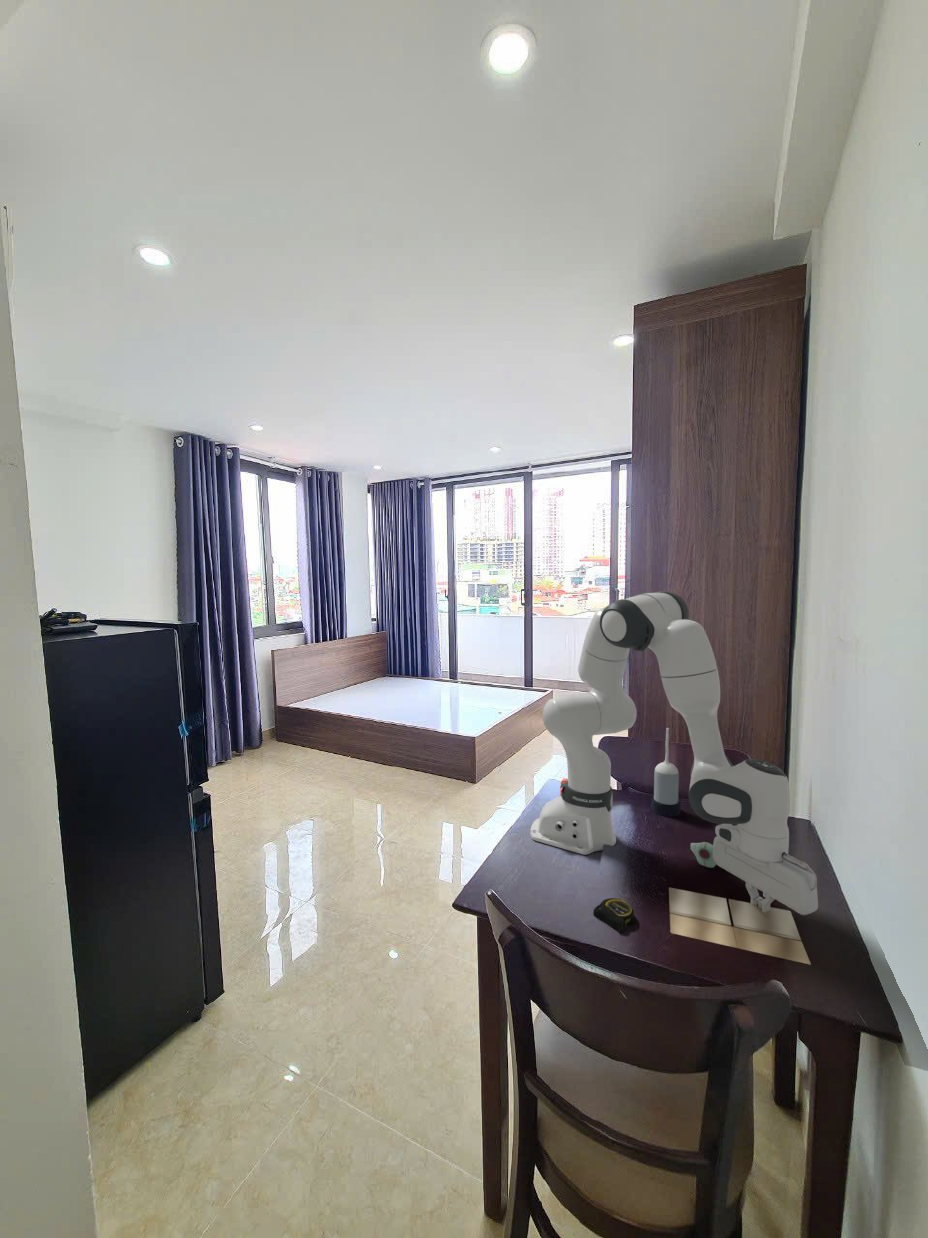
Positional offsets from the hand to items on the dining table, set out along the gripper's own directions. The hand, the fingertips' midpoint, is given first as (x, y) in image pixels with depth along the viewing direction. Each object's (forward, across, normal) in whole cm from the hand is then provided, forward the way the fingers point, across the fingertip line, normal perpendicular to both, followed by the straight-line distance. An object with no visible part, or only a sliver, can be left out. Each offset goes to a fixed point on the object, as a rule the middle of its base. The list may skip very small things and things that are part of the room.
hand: (760, 908), depth 101 cm
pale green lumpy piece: (+2, +16, -4) cm, 17 cm away
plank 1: (+1, +6, +11) cm, 12 cm away
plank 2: (+1, -2, +2) cm, 4 cm away
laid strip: (+2, -4, +12) cm, 12 cm away
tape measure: (+2, +10, +29) cm, 30 cm away
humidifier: (+2, +44, -20) cm, 48 cm away
